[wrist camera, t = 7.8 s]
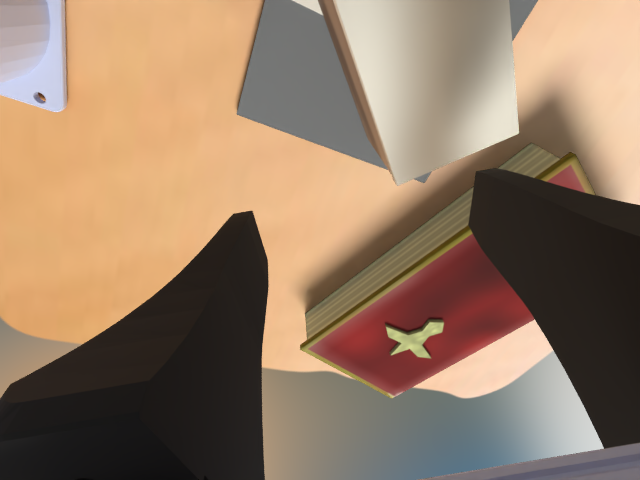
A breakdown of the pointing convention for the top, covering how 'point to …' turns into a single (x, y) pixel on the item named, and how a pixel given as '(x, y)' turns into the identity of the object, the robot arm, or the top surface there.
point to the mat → (312, 79)
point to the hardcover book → (428, 295)
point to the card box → (427, 77)
